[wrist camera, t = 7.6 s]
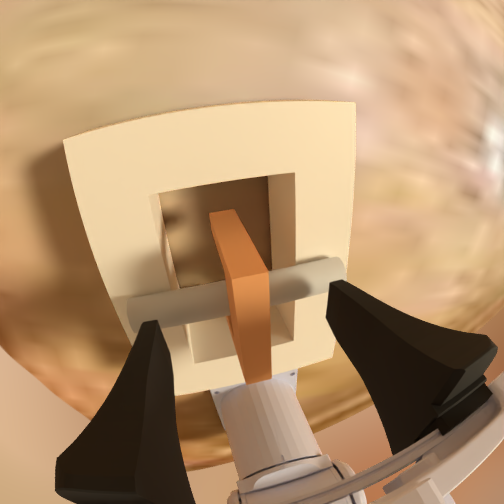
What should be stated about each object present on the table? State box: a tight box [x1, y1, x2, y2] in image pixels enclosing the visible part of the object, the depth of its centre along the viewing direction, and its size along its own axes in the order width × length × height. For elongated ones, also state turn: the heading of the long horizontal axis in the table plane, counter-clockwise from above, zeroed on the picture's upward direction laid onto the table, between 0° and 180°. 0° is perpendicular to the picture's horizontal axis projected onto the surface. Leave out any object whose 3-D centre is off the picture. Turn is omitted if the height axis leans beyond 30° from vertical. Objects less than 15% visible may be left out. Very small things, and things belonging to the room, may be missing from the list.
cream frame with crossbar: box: [63, 100, 356, 396], centre depth 15 cm, size 16×12×6 cm
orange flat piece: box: [209, 209, 272, 385], centre depth 13 cm, size 6×1×6 cm, turn 4°
